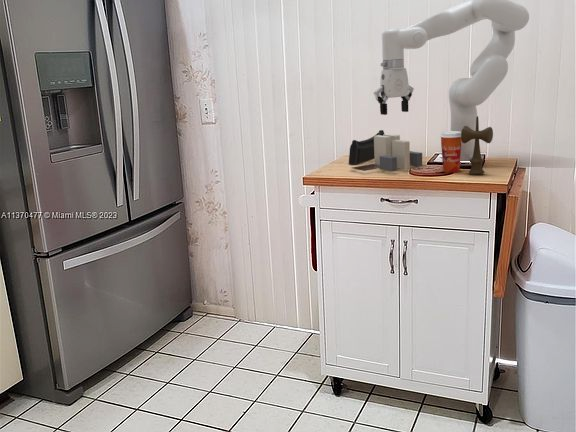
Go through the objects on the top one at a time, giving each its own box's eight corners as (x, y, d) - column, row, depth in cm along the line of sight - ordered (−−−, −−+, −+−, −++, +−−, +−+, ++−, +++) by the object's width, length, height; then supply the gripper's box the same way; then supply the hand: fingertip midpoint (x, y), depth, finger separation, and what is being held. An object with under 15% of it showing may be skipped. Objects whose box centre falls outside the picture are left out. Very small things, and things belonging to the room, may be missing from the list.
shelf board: (401, 167, 228) (401, 164, 228) (364, 174, 220) (364, 170, 220) (386, 164, 236) (386, 161, 235) (350, 170, 228) (350, 167, 227)
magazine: (351, 146, 228) (384, 114, 248) (344, 145, 230) (377, 114, 250) (359, 185, 236) (390, 151, 256) (352, 184, 238) (383, 151, 258)
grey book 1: (397, 173, 217) (396, 157, 215) (392, 174, 216) (391, 158, 214) (385, 171, 223) (384, 155, 221) (379, 172, 221) (379, 156, 220)
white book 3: (409, 171, 219) (409, 141, 217) (404, 172, 218) (404, 142, 215) (397, 168, 225) (397, 139, 223) (392, 169, 224) (392, 140, 221)
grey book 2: (422, 168, 222) (422, 152, 221) (417, 169, 221) (417, 153, 220) (409, 166, 228) (409, 150, 227) (405, 167, 227) (404, 151, 225)
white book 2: (400, 163, 228) (399, 135, 225) (395, 164, 227) (394, 135, 224) (388, 161, 234) (388, 133, 231) (383, 162, 233) (383, 134, 230)
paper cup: (438, 173, 212) (438, 134, 208) (441, 169, 219) (441, 131, 215) (461, 173, 209) (461, 133, 205) (463, 169, 216) (464, 130, 212)
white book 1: (391, 165, 226) (390, 136, 223) (386, 166, 225) (385, 137, 222) (379, 163, 232) (378, 135, 229) (374, 164, 231) (373, 135, 228)
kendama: (466, 171, 212) (466, 114, 206) (493, 173, 206) (494, 115, 201) (459, 175, 207) (460, 116, 202) (487, 176, 201) (488, 117, 196)
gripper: (380, 66, 207) (381, 116, 211) (419, 63, 215) (419, 111, 219) (367, 67, 214) (369, 115, 218) (405, 63, 221) (406, 110, 226)
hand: (394, 113), depth 219 cm, fingers open, 9 cm apart
